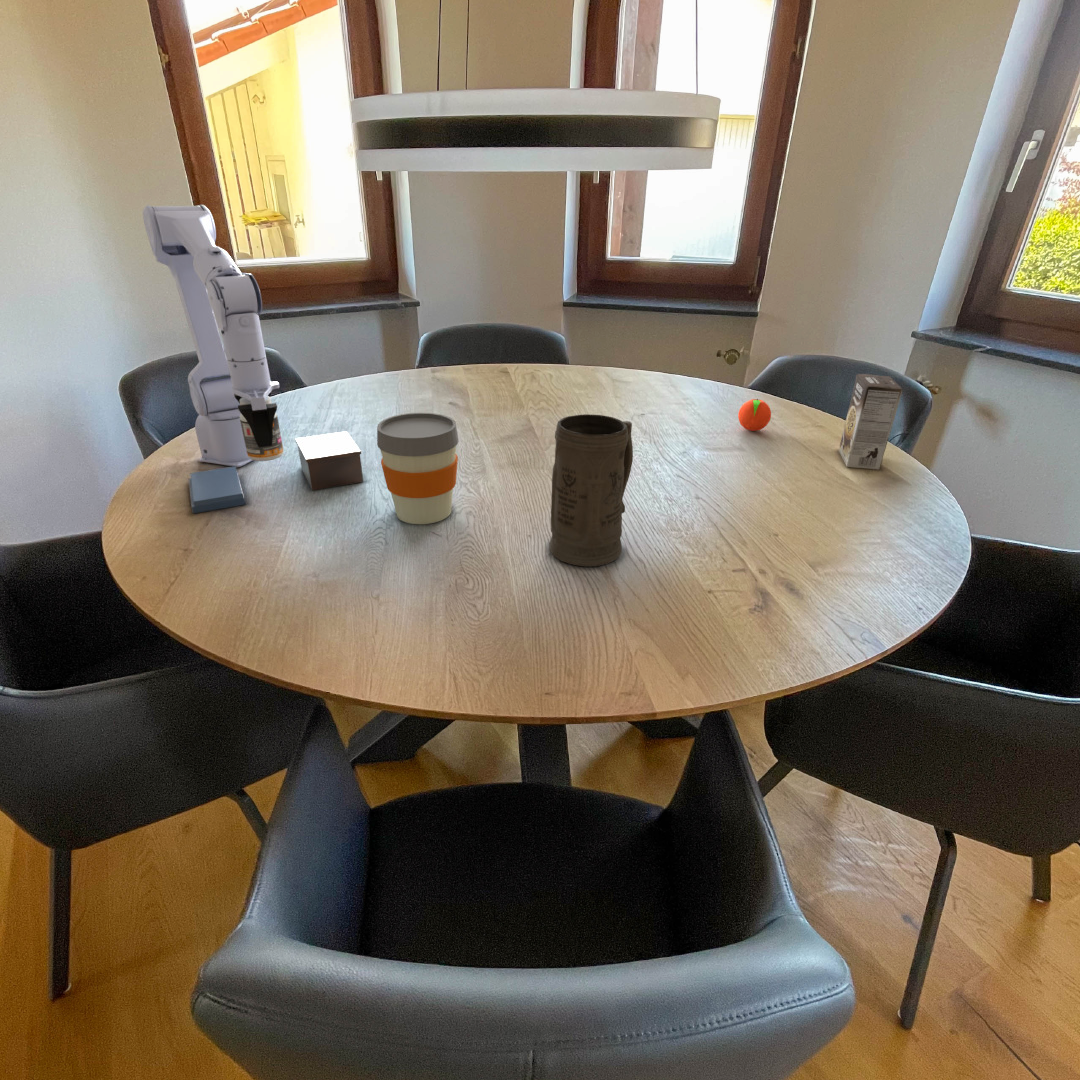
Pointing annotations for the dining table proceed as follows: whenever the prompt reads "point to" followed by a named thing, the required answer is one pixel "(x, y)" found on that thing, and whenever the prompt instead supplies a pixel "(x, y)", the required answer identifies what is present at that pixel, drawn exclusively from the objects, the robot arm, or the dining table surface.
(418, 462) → the reusable coffee cup
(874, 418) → the coffee box
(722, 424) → the dining table surface
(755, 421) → the clementine
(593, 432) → the beer stein
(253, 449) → the pill bottle
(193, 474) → the blue flat block
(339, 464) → the walnut box
